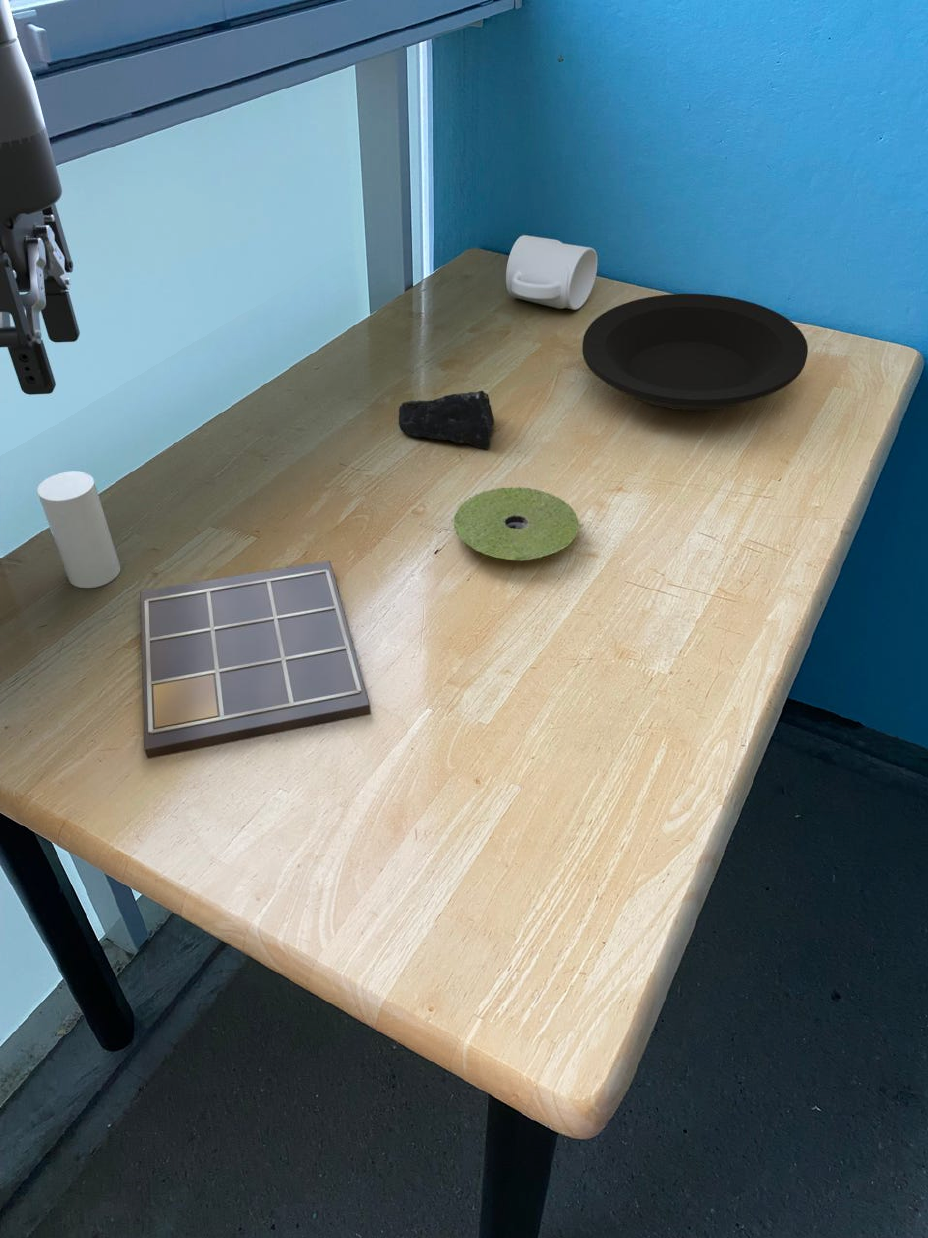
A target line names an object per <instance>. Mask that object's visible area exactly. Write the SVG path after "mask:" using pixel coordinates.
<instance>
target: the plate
mask: <svg viewBox="0 0 928 1238" xmlns="http://www.w3.org/2000/svg"><path fill="white" fill-rule="evenodd" d="M581 346H582V348H581V350H582V351H581V352H582V357H583V360H584V362H585V365H586V366H587V367H588V368H589V370H590V371H591V372H592V373H593V374H594V375H595V376H596V377H597V378H598V379H600V380H601V381H603V382H604V383H605V384H608V385H609V386H610V387H612V388H614V389H615V390H618V391H620V392H622V393H623V394H626V395H627V396H629V397H632V398H634V399H636V400H639V401H641V402H644V403H647V404H650V405H654V406H657V407H662V408H668V409H674V410H682V411H683V410H684V411H708V410H717V409H724V408H729V407H734V406H737V405H741V404H743V403H748V402H750V401H754V400H758V399H760V398H764V397H766V396H769V395H771V394H774V393H776V392H778V391H780V390H782V389H784V388H785V387H787V386H788V385H790V384H791V383H793V382H794V381H795V380H796V379H797V378H798V377H799V376H800V375H801V374H802V371H803V370H804V368H805V366H806V362H807V359H808V353H809V346H808V341H807V339H806V336H805V335H804V333H803V332H802V330H800V329H799V327H798V326H797V325H796V324H795V323H794V322H792V321H791V320H789V319H788V318H787V317H785V316H784V315H782V314H780V313H779V312H776V311H775V310H773V309H771V308H768V307H766V306H763V305H760V304H757V303H754V302H750V301H747V300H743V299H739V298H736V297H729V296H723V295H717V294H709V293H708V294H706V293H672V294H671V293H670V294H661V295H660V294H659V295H654V296H648V297H644V298H643V297H642V298H638V299H634V300H631V301H628V302H625V303H622V304H619V305H617V306H615V307H613V308H610V309H609V310H607V311H605V312H603V313H602V314H600V315H599V316H597V318H595V319H594V321H592V322H591V323H590V325H588V327H587V329H586V330H585V331H584V335H583V339H582V345H581Z"/></svg>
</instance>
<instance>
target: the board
mask: <svg viewBox="0 0 928 1238" xmlns="http://www.w3.org/2000/svg"><path fill="white" fill-rule="evenodd" d="M139 595H140V596H139V597H140V629H141V630H140V636H141V640H140V641H141V674H142V679H141V680H142V715H143V719H142V721H143V750H144V753H145V757H146V758H147V759H153V758H157V757H162V756H167V755H172V754H177V753H182V752H186V751H192V750H197V749H202V748H206V747H212V746H218V745H222V744H223V745H224V744H227V743H233V742H238V741H243V740H247V739H252V738H253V739H254V738H258V737H262V736H267V735H271V734H277V733H283V732H287V731H293V730H297V729H302V728H307V727H312V726H317V725H322V724H323V725H324V724H328V723H332V722H337V721H338V722H339V721H343V720H348V719H352V718H358V717H363V716H368V715H371V713H372V711H371V703H370V700H369V697H368V694H367V690H366V686H365V682H364V678H363V674H362V671H361V668H360V664H359V660H358V656H357V652H356V649H355V646H354V642H353V640H352V636H351V631H350V627H349V624H348V621H347V617H346V613H345V610H344V606H343V602H342V597H341V595H340V591H339V588H338V584H337V581H336V577H335V574H334V570H333V567H332V562H331V560H323V561H318V562H312V563H306V564H300V565H293V566H287V567H281V568H280V567H279V568H275V569H274V568H273V569H269V570H263V571H256V572H250V573H245V574H238V575H233V576H226V577H221V578H215V579H208V580H203V581H196V582H195V581H194V582H189V583H182V584H177V585H172V586H165V587H159V588H153V589H146V590H141V591H140V594H139Z"/></svg>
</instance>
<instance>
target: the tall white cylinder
mask: <svg viewBox="0 0 928 1238" xmlns="http://www.w3.org/2000/svg"><path fill="white" fill-rule="evenodd" d="M36 491H37V492H36V494H37V496H38V499H39V501H40V504H41V507H42V510H43V512H44V515H45V519H46V521H47V525H48V526H49V529H50V532H51V535H52V538H53V541H54V544H55V546H56V550H57V552H58V554H59V557H60V560H61V563H62V565H63V568H64V571H65V574H66V577H67V580H68V582H69V583H70V584H71V586H74V587H76V588H80V589H95V588H99V587H102V586H105V585H107V584H109V583H111V582H113V581H114V580H115V579H116V578H117V577H118V576H119V574H120V572H121V564H120V560H119V558H118V554H117V550H116V547H115V544H114V541H113V538H112V534H111V532H110V528H109V525H108V521H107V519H106V515H105V512H104V508H103V506H102V505H103V504H102V502H101V499H100V496H99V492H98V489H97V485H96V482H95V479H94V477H93V476H92V475H90V474H89V473H87V472H83V471H77V470H70V471H63V472H59V473H55V474H52V475H50V476H48V477H47V478H45V479H43V480H42V481H41V482H40V484H39V485H38V486H37V489H36Z"/></svg>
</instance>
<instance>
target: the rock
mask: <svg viewBox="0 0 928 1238" xmlns="http://www.w3.org/2000/svg"><path fill="white" fill-rule="evenodd" d="M490 403H491V401H490V397H489V394H488V393H487V392H485V391H484V390H479V391H475V392H474V391H469V392H459V393H452V394H449V395H444V396H442V397H438V398H435V399H432V400H409V401H403V402H402V403H401V405H400V406H399V407H398V426H399V428H400V430H401V432H402V433H403V434H404V435H408V436H412V437H417V438H427V439H432V440H438V441H448V440H449V441H451V442H452V443H457V444H468V445H469V446H472V447H475V448H477V449H481V450H485V451H488V450H489V448H490V446H491V438H492V434H493V431H494V430H493V428H494V426H495V419H494V413H493V409H492V405H491V404H490Z"/></svg>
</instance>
